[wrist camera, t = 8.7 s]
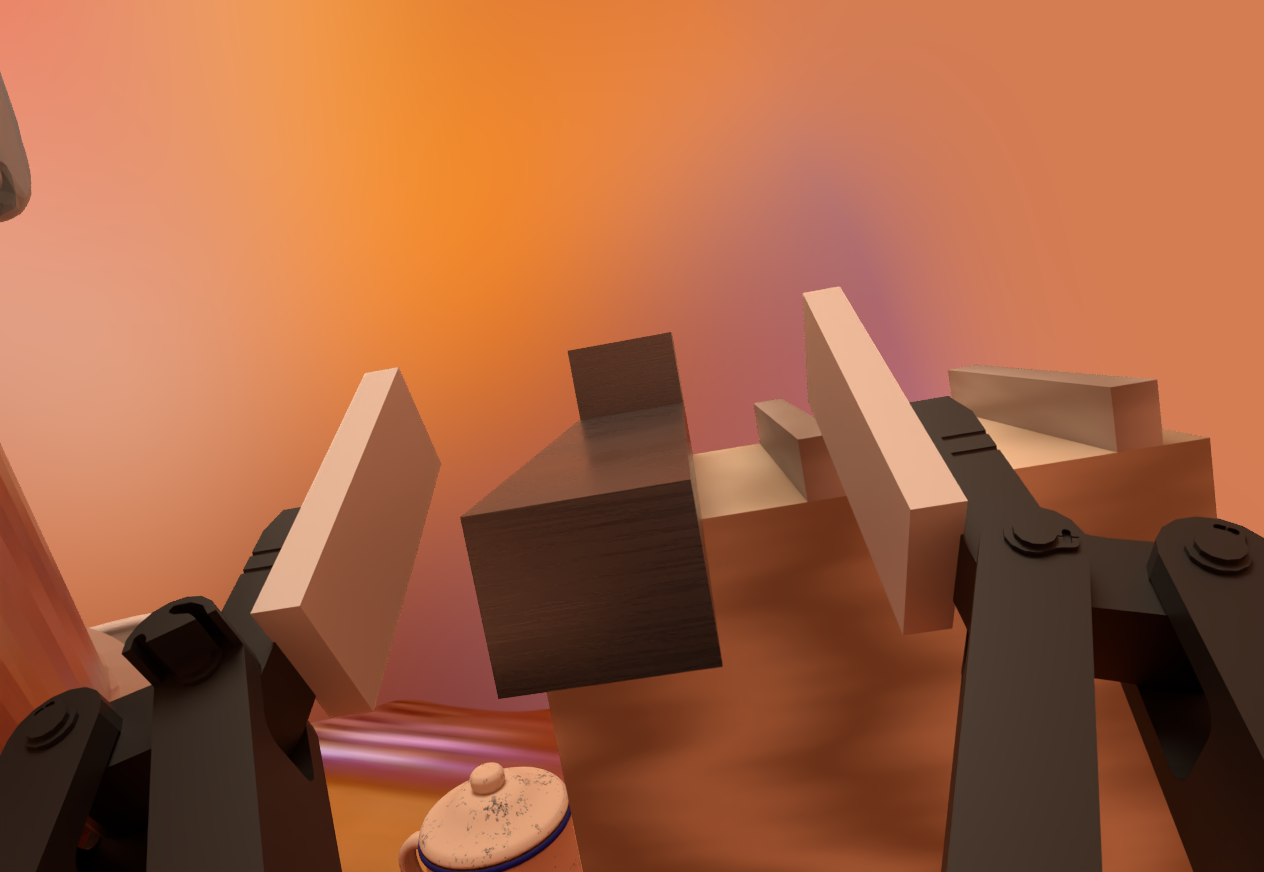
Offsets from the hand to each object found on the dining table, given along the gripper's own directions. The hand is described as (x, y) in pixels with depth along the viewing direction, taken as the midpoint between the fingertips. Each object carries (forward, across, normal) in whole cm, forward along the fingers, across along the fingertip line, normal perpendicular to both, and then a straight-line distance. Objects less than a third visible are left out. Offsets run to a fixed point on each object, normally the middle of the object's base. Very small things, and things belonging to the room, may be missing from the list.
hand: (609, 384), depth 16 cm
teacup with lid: (+4, -15, -41) cm, 44 cm away
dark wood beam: (0, 0, -4) cm, 4 cm away
